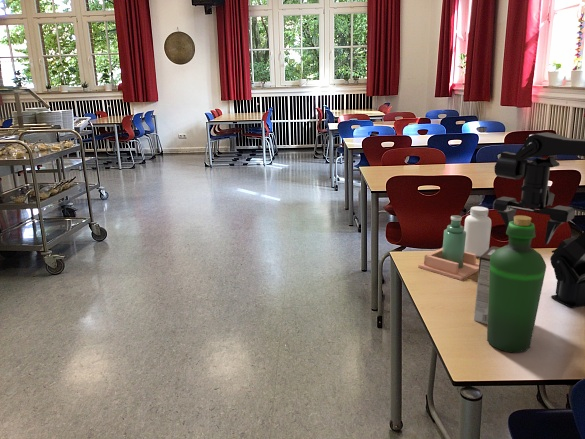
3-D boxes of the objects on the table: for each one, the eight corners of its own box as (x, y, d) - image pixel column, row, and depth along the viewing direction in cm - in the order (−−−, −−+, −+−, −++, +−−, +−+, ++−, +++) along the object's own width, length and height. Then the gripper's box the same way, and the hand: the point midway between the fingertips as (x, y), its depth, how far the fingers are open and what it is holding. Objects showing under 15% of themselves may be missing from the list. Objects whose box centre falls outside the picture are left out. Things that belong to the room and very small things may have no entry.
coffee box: (485, 306, 122) (492, 245, 117) (513, 314, 118) (520, 250, 113) (472, 320, 115) (478, 255, 110) (500, 328, 111) (508, 262, 107)
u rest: (484, 267, 147) (486, 255, 146) (461, 280, 138) (462, 267, 137) (442, 255, 157) (443, 244, 156) (418, 267, 148) (418, 255, 147)
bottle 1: (465, 269, 144) (469, 219, 139) (443, 268, 144) (447, 219, 140) (460, 261, 149) (464, 214, 145) (439, 260, 150) (443, 213, 146)
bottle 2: (524, 332, 109) (540, 210, 102) (543, 358, 99) (562, 225, 91) (475, 330, 110) (487, 210, 103) (489, 356, 100) (503, 224, 93)
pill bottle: (492, 257, 155) (496, 211, 151) (466, 257, 155) (470, 211, 151) (483, 248, 163) (487, 205, 158) (458, 249, 163) (462, 205, 159)
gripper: (586, 182, 125) (577, 240, 129) (513, 173, 138) (507, 226, 142) (570, 189, 117) (561, 251, 122) (494, 179, 130) (489, 235, 135)
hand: (528, 240), depth 130 cm, fingers open, 9 cm apart
